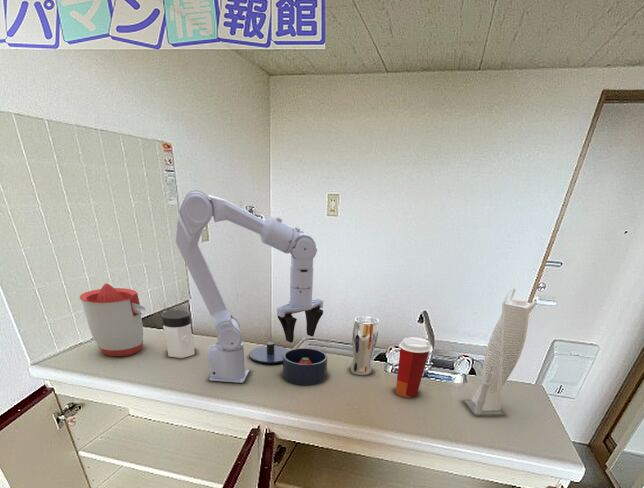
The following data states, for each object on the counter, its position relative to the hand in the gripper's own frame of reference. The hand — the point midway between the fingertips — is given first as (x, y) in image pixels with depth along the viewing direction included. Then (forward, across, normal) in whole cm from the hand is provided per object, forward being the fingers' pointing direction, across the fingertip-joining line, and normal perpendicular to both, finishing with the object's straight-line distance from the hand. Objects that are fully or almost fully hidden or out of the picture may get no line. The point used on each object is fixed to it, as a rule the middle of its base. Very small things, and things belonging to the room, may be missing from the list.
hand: (300, 338), depth 110 cm
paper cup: (+10, -14, +28) cm, 32 cm away
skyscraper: (+10, -23, +45) cm, 51 cm away
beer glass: (+10, -15, +11) cm, 21 cm away
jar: (+10, +20, -34) cm, 40 cm away
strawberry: (+10, 0, +3) cm, 10 cm away
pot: (+10, 0, +3) cm, 10 cm away
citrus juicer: (+10, +32, -47) cm, 58 cm away
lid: (+10, -1, -14) cm, 17 cm away
